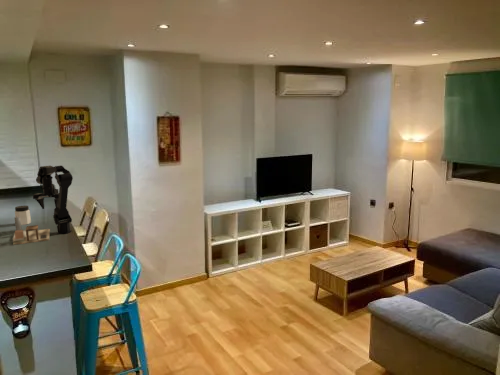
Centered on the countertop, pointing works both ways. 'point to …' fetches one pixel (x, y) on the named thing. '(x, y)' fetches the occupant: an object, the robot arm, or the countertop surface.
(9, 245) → the countertop surface
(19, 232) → the knobbed beige slab
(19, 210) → the jar
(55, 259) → the countertop surface
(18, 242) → the board
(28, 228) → the tunnel
